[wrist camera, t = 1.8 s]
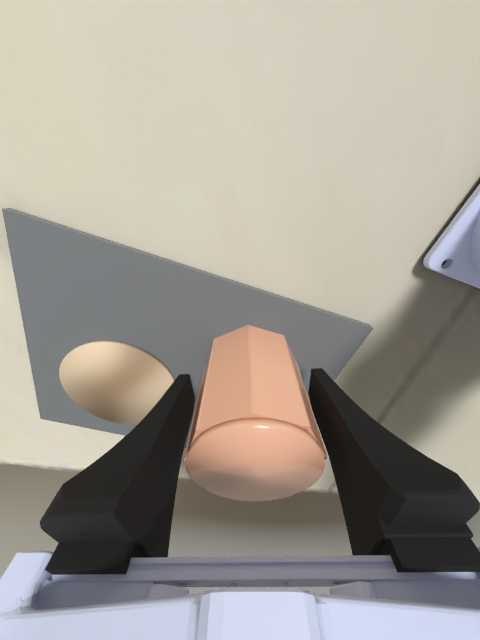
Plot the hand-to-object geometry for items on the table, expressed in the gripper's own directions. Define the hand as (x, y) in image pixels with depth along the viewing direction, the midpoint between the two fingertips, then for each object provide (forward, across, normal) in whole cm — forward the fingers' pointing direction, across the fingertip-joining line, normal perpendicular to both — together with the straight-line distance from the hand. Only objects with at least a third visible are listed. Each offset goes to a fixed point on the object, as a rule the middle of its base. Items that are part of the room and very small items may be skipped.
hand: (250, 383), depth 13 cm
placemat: (+2, +5, +1) cm, 5 cm away
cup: (+2, 0, 0) cm, 2 cm away
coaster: (+2, +9, +2) cm, 10 cm away
